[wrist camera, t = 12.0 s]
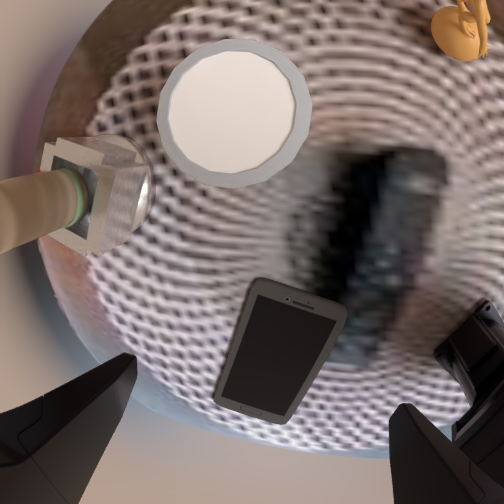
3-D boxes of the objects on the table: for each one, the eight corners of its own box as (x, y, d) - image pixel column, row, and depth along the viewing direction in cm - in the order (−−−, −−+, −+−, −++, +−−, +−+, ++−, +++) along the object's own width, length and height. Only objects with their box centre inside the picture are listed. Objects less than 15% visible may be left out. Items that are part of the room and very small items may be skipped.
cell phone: (213, 398, 26) (211, 403, 26) (256, 272, 22) (254, 275, 21) (285, 421, 26) (285, 427, 25) (351, 304, 21) (352, 309, 20)
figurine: (468, 101, 15) (589, 75, 3) (392, 72, 15) (479, -10, 4) (468, 10, 12) (549, -53, 1) (396, -19, 13) (445, -117, 1)
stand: (169, 151, 20) (126, 152, 14) (140, 252, 22) (100, 278, 17) (88, 125, 20) (40, 123, 15) (69, 215, 23) (24, 231, 18)
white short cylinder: (208, 181, 20) (161, 194, 13) (202, 82, 18) (153, 53, 11) (313, 176, 18) (317, 186, 12) (306, 72, 16) (304, 30, 10)
